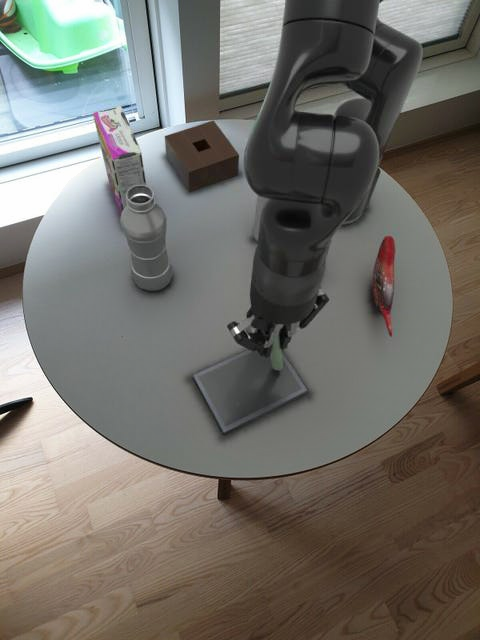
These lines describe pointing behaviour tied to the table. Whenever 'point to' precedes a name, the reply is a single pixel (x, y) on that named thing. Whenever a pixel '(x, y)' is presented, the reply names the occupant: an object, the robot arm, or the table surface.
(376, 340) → the table surface
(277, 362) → the stylus
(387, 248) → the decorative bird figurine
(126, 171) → the candy bar box
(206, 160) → the holder
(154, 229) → the plastic bottle
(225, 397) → the tablet
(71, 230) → the table surface
